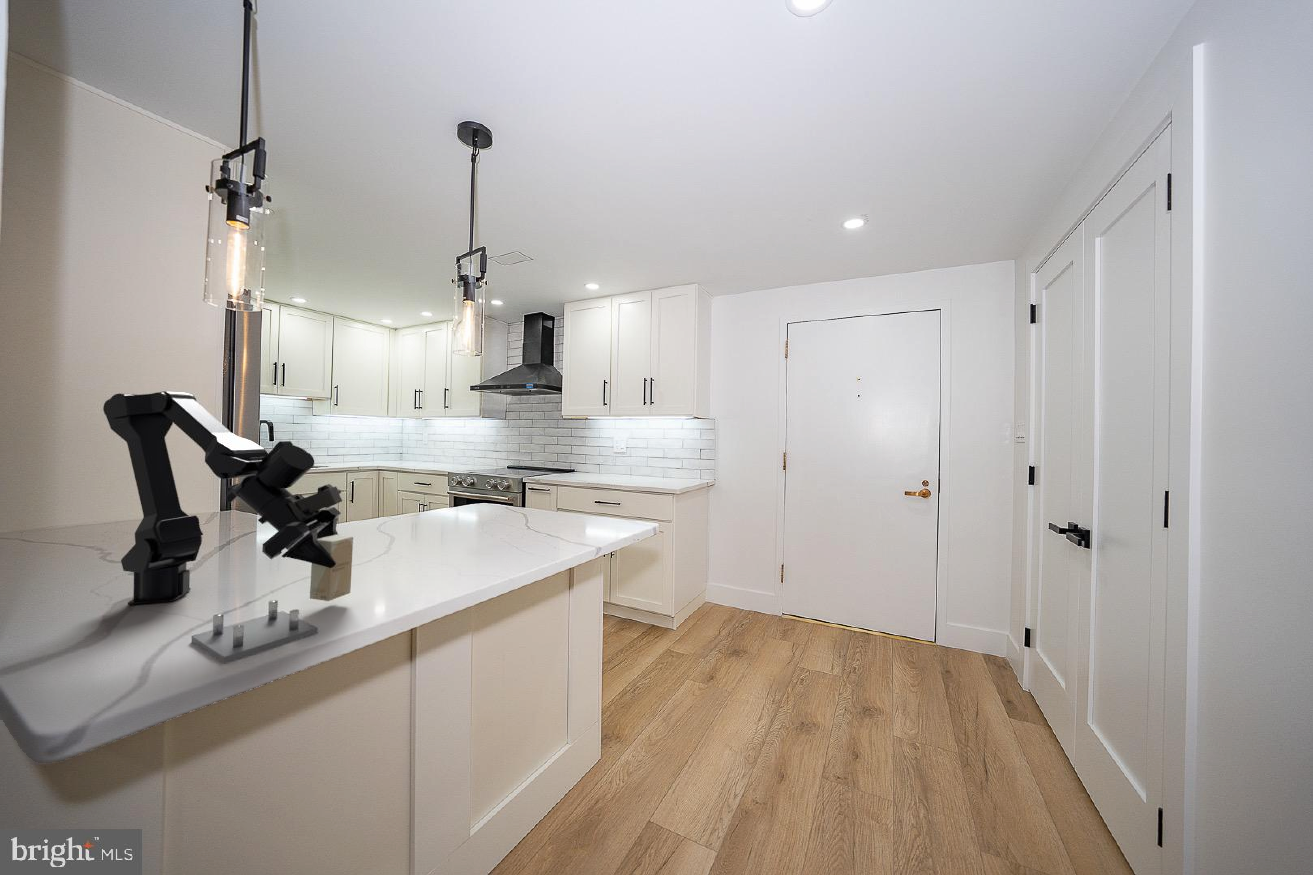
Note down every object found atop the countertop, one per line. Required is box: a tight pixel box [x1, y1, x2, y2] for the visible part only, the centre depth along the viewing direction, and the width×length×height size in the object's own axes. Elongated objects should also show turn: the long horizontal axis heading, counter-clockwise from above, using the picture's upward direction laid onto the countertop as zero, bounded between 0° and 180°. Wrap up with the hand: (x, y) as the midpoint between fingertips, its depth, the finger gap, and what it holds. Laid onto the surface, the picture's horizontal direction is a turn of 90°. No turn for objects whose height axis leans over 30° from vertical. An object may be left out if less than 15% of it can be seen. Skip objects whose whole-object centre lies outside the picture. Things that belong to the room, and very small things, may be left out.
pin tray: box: [191, 599, 319, 665], centre depth 75 cm, size 12×12×4 cm
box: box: [309, 534, 354, 602], centre depth 89 cm, size 5×4×11 cm
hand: (340, 560), depth 89 cm, fingers closed on box, 6 cm apart
